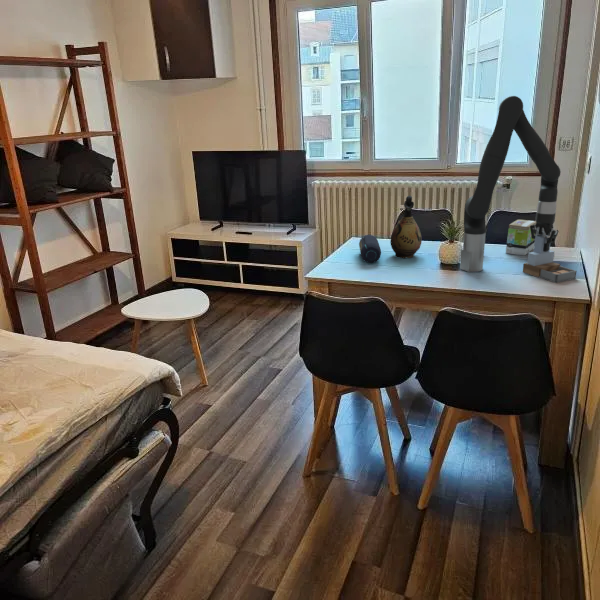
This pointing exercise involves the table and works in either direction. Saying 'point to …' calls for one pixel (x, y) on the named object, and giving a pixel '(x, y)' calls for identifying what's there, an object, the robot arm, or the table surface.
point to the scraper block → (540, 253)
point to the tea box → (520, 237)
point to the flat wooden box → (539, 268)
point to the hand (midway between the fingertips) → (541, 250)
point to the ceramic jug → (406, 233)
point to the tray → (558, 275)
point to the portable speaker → (370, 249)
